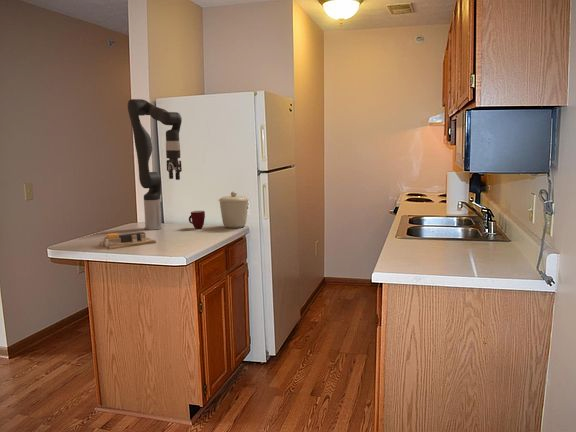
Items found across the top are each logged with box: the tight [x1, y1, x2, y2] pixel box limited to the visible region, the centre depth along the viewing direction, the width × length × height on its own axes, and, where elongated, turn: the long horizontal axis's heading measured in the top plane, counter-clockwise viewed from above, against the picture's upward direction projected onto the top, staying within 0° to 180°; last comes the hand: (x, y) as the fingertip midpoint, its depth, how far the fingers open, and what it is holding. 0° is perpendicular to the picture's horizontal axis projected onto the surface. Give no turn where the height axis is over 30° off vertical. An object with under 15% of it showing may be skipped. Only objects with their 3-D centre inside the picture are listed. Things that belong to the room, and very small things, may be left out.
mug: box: [188, 210, 206, 230], centre depth 295 cm, size 10×8×10 cm
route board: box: [99, 231, 157, 250], centre depth 253 cm, size 16×23×4 cm
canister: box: [218, 191, 250, 229], centre depth 298 cm, size 18×18×21 cm
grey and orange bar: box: [106, 231, 146, 243], centre depth 253 cm, size 18×5×5 cm, turn 127°
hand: (174, 179), depth 276 cm, fingers open, 8 cm apart
